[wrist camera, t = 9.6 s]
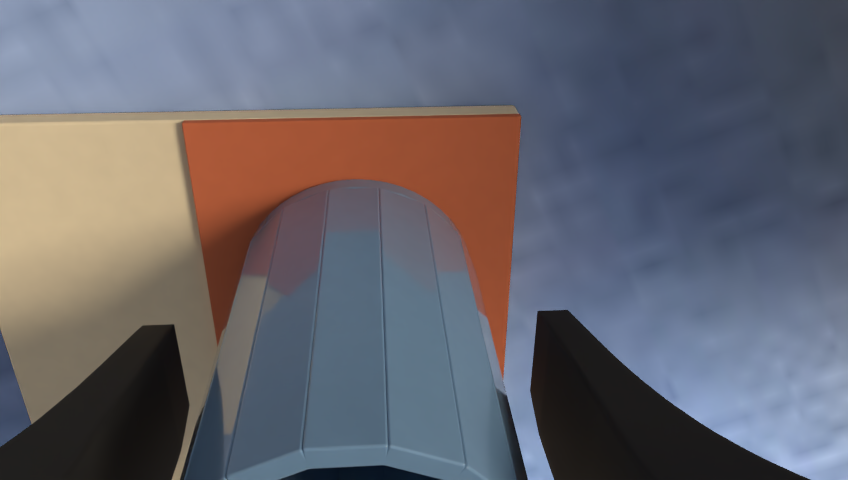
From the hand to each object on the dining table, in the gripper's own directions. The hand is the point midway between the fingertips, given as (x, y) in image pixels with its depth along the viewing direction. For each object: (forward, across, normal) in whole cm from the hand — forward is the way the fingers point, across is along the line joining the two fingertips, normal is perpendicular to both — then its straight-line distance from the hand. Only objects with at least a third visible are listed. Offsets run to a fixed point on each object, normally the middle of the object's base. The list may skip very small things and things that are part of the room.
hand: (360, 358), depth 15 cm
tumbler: (+3, 0, 0) cm, 3 cm away
